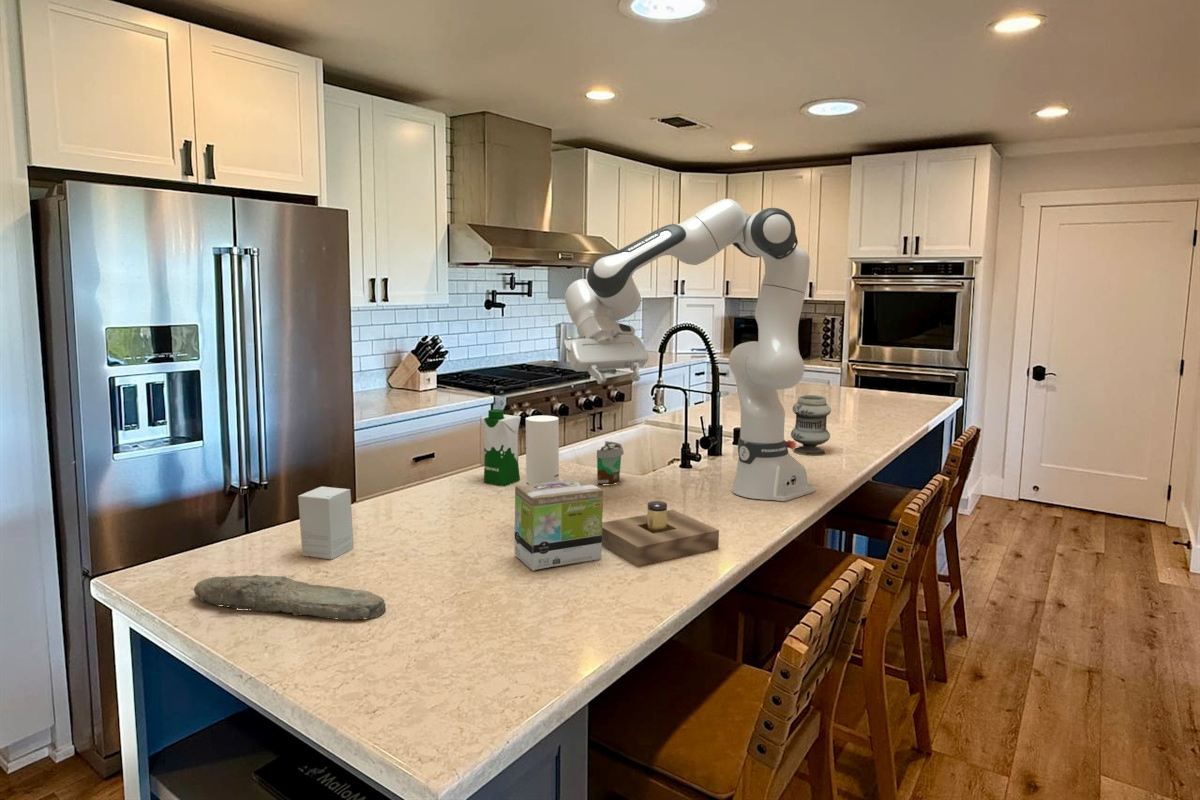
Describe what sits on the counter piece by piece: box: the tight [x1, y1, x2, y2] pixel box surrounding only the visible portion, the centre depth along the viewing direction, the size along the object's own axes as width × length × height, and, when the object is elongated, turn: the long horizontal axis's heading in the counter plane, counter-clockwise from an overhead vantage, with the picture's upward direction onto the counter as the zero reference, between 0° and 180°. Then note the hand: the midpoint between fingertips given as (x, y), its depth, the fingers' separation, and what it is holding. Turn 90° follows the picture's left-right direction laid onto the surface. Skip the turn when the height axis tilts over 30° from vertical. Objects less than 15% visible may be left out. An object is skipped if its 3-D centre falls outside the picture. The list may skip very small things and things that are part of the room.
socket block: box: [602, 509, 720, 567], centre depth 158 cm, size 20×16×4 cm
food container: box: [596, 441, 625, 486], centre depth 207 cm, size 12×6×10 cm, turn 168°
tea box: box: [514, 477, 604, 572], centre depth 150 cm, size 15×10×15 cm, turn 117°
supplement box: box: [297, 486, 355, 560], centre depth 153 cm, size 7×7×13 cm
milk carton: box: [480, 408, 521, 487], centre depth 205 cm, size 9×9×20 cm
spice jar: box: [646, 500, 668, 533], centre depth 158 cm, size 4×4×9 cm
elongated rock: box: [193, 574, 386, 621], centre depth 129 cm, size 35×5×10 cm
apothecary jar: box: [790, 394, 832, 457], centre depth 242 cm, size 12×12×18 cm
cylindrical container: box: [525, 415, 560, 485], centre depth 166 cm, size 7×7×25 cm
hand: (620, 381), depth 177 cm, fingers open, 8 cm apart
